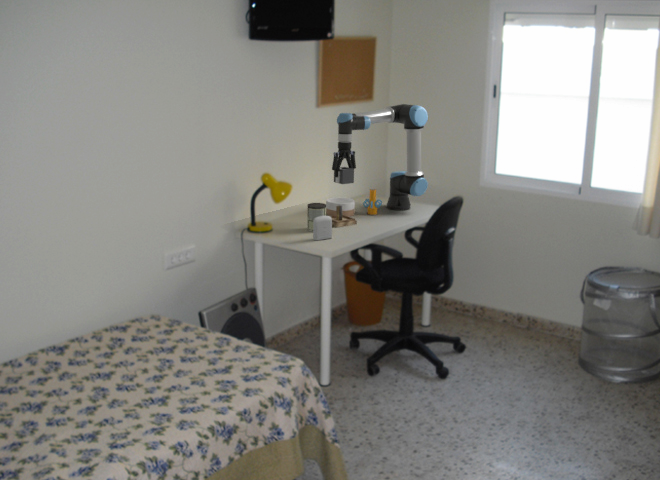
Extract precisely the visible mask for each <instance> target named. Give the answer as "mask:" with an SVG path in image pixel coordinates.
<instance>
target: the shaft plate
mask: <svg viewBox="0 0 660 480" xmlns="http://www.w3.org/2000/svg"><path fill="white" fill-rule="evenodd" d="M330 217H331V218H332V227H334V228H343V227H349V226H353V225H354V226H355V225H357V223H358V222H357V219H356V218H353V217H351V216H345V215H342V206H336V216H330Z"/></svg>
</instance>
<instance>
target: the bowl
mask: <svg viewBox="0 0 660 480" xmlns="http://www.w3.org/2000/svg"><path fill="white" fill-rule="evenodd" d="M325 201H326V202H325V204H326V216H336V206H342V215H345V216H348V217H351V216H354V215H355V208H356V207H355V206H356V205H355V204H356V203H355V202H356V201H355V199H354V198H352V197H351V198H350V197H343V196H341V197H339V196H338V197H337V196H336V197H330V198H327V199H326V200H325Z"/></svg>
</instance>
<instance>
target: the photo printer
mask: <svg viewBox="0 0 660 480" xmlns="http://www.w3.org/2000/svg"><path fill="white" fill-rule="evenodd" d="M312 234H313V235H312V237H313V241H321V240H328V239H332V238H333V226H332V218H331V217H330V216H329V215H326V216H319V217H316V218H314V220H313V232H312Z"/></svg>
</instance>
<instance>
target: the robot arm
mask: <svg viewBox="0 0 660 480" xmlns="http://www.w3.org/2000/svg"><path fill="white" fill-rule="evenodd" d="M428 116H429V114H428V112H427V109H426V108H424V107H423V106H421V105H418V104H404V103H403V104H402V103H401V104H396V105H391V106H390V105H389V106H386V107H385V108H382V109H376V110H368V111H359V112H353V113H351V112H341V113H339V114H338V116H337V117H336V118H337V119H336V123H337V125H338V127H337V130H338V133H337V134H338V135H337V140H338V142H337V148H338V151H337V152H333V161H332V165H331V166H332V167H331V170H332V171H333V172H334V171H335V177H336V184H339V183H340V171H339V169H340V167H342V166H341V165H342V162H343V161H344V160H346V163H347V166H348V168H353V169H354V170H355V169H357V165H356V151H355V150H352V141H353V135H352V134H353V131H366V130H368V129H369V128H370V127H371V125H374V124H381V123H388V124H391V123H395V124H402V125H403V130H404V131H406V170H405V171H404V170H403V171H402V170H399V171H392V172H391V173H390V176H389V197H388V200H387V202H386V209H389V210H393V211H407V210H411V207H412V205H411V201H410V196H413V197H421V196H422V195H424V194H425V192H426V191H427V189H428V186H429V185H428V184H429V183H428V182H429V181H428V180H427V178H425V176H424V175H425V173H424V171H422V131H423V130H424V128H425V125H426V124H427V122H428V119H429V117H428ZM409 195H410V196H409Z"/></svg>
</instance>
